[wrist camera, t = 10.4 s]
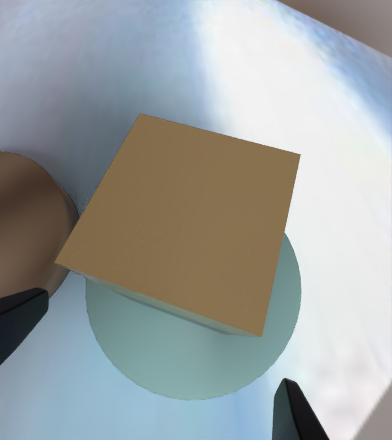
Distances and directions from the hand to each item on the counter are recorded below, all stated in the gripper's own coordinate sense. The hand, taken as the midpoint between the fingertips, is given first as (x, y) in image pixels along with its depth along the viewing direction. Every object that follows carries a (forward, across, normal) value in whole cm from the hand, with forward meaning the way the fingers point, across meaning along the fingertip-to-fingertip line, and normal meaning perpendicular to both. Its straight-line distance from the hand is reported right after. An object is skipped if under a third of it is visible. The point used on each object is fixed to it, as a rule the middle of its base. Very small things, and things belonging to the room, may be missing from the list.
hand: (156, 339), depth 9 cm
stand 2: (+9, 0, +3) cm, 9 cm away
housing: (+7, 0, +1) cm, 7 cm away
